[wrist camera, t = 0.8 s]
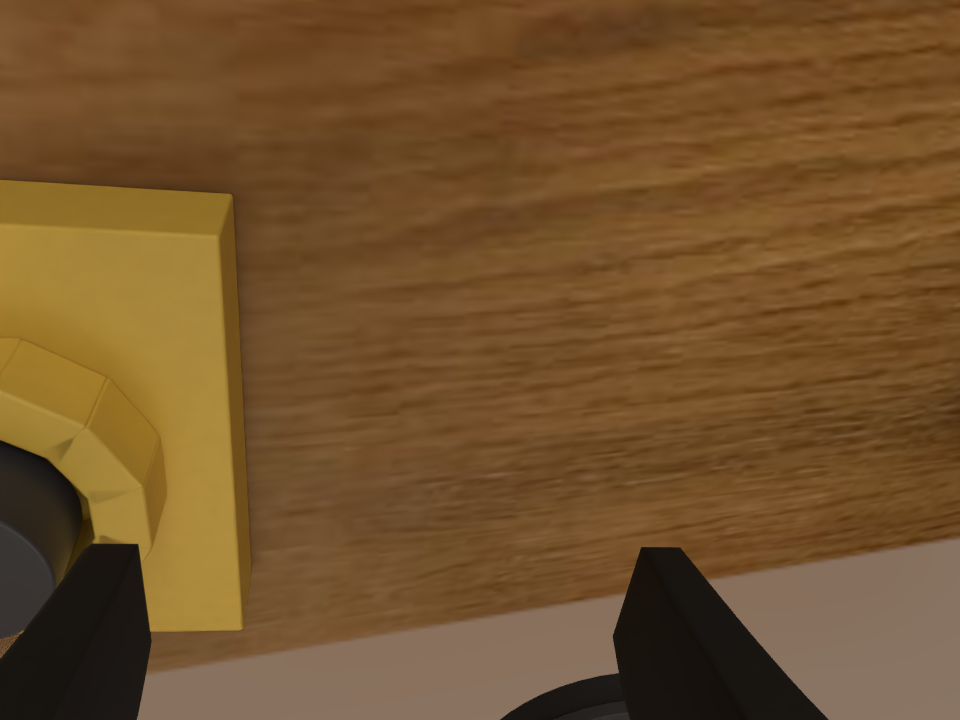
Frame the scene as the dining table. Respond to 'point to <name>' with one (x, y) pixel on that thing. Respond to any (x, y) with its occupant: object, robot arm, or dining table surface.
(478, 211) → the dining table surface
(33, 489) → the button
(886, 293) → the dining table surface
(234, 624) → the block
